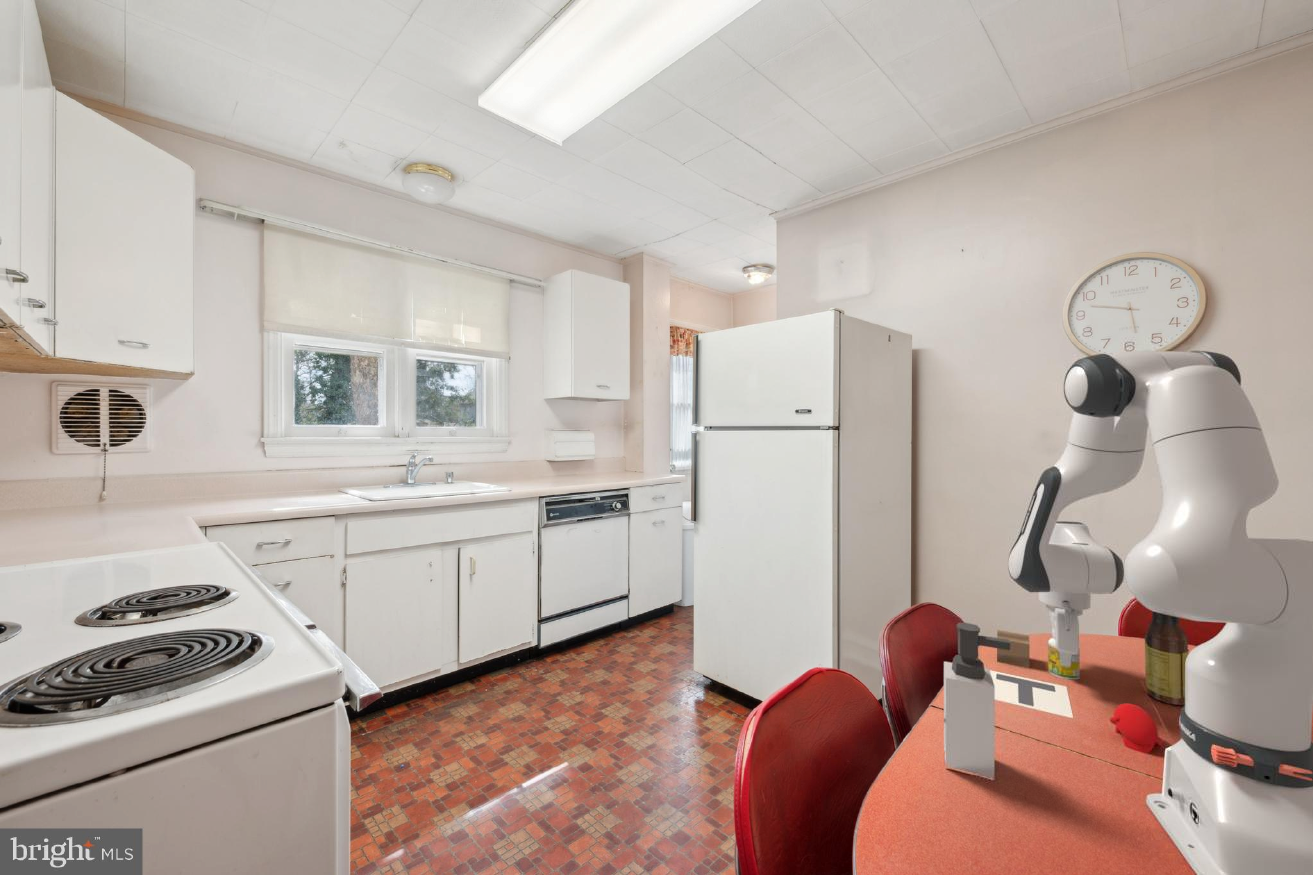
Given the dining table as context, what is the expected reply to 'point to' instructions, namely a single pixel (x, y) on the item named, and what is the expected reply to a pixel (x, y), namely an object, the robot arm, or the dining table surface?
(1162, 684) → the sauce bottle
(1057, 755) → the dining table surface
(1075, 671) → the supplement bottle
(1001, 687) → the letter tile
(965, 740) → the soap dispenser
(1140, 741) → the red rounded lump
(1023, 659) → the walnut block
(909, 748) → the dining table surface
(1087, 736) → the dining table surface
